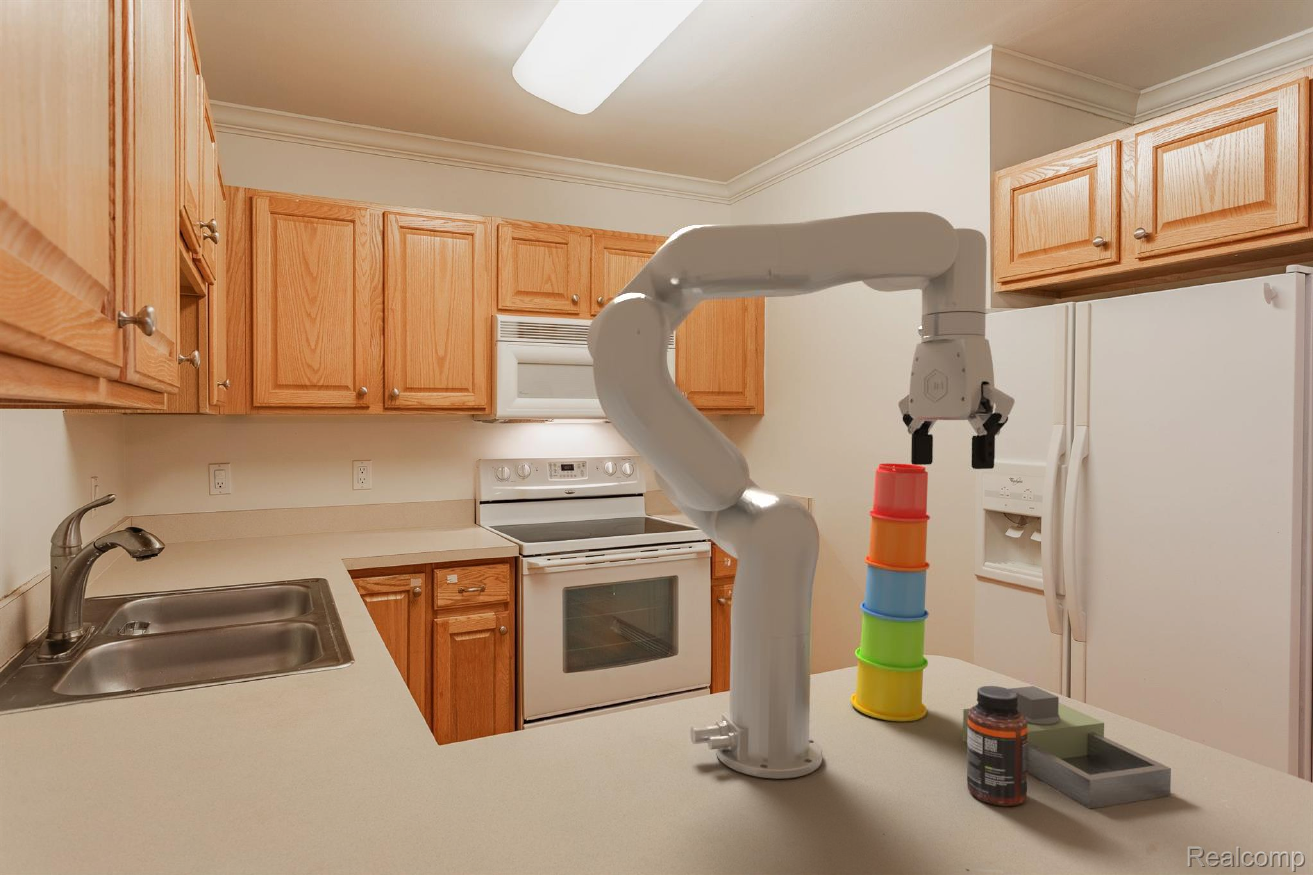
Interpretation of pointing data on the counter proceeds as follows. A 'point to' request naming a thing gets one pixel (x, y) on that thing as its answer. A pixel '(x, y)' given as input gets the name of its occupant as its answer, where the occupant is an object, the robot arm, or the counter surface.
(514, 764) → the counter surface
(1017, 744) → the supplement bottle
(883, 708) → the stacking cups
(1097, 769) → the grey square tray
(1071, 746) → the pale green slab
